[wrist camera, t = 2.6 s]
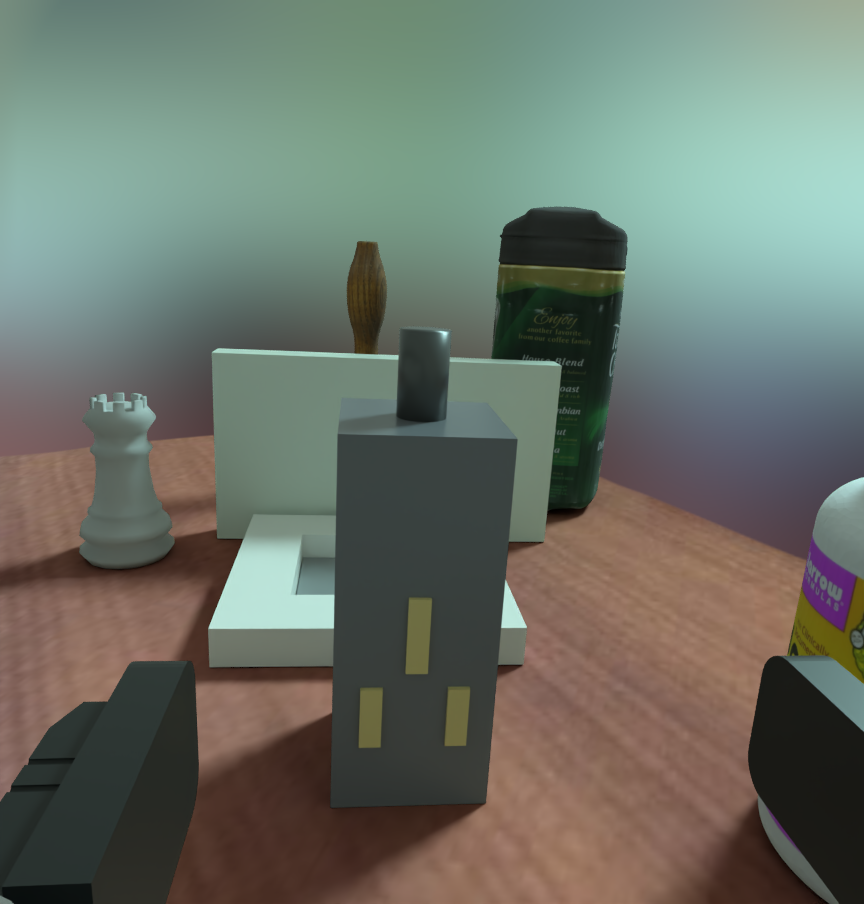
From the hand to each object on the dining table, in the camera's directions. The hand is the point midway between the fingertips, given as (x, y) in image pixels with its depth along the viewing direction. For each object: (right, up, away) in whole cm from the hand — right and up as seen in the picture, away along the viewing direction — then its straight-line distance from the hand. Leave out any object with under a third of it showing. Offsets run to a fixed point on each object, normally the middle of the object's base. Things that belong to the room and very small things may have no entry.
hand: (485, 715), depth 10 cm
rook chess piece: (-16, -2, +26) cm, 31 cm away
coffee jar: (+7, +1, +40) cm, 40 cm away
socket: (-3, -3, +24) cm, 25 cm away
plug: (-2, -6, +13) cm, 14 cm away
